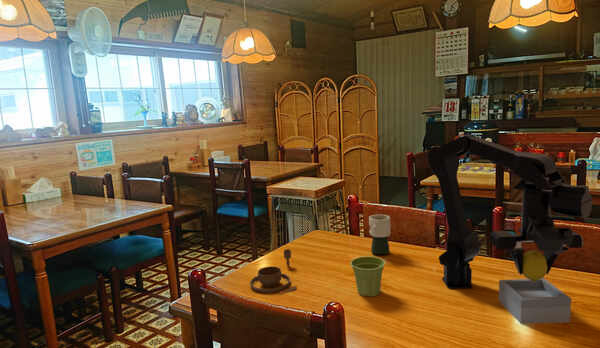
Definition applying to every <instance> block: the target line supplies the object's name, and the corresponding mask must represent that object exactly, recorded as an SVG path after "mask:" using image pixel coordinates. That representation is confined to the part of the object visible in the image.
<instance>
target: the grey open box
mask: <svg viewBox="0 0 600 348" xmlns="http://www.w3.org/2000/svg"><path fill="white" fill-rule="evenodd" d="M498 284H499V285H498V302H499V303H500V304H501V306H502V307H504V308H505V310H507V311H508V313H510V314H511V316H512V317H514V319H515V320H517V322H518V323H520V324H521V325H522V324H523V325H524V324H525V325H526V324H551V323H570V322H571V307H572V305H571V304H572V298H571V297H570V296H568V295H567V294H566V293H565V292H563V291H562V290H560V289H559V288H557V286H555V285H554V284H552V283H551V282H550V281H548V280H547V279H545V278H544V277H543V278H542V279H540V280H536V281H535V282H532V281H531V280H530V279H528V278H521V279H520V278H519V279H518V278H517V279H513V278H512V279H498Z"/></svg>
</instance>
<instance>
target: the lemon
mask: <svg viewBox="0 0 600 348" xmlns="http://www.w3.org/2000/svg"><path fill="white" fill-rule="evenodd" d="M546 272H547V262H546V259H545V257H544V256H543V253H541V252H539V251H538V250H537V249H532V250H527V251H525V252H524V253H523V272H522V275H523V277H525V279H530V280H531V281H532V282H535V281H536V280H540V279H542V278H544V277H545V276H546V275H547V274H546Z"/></svg>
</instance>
